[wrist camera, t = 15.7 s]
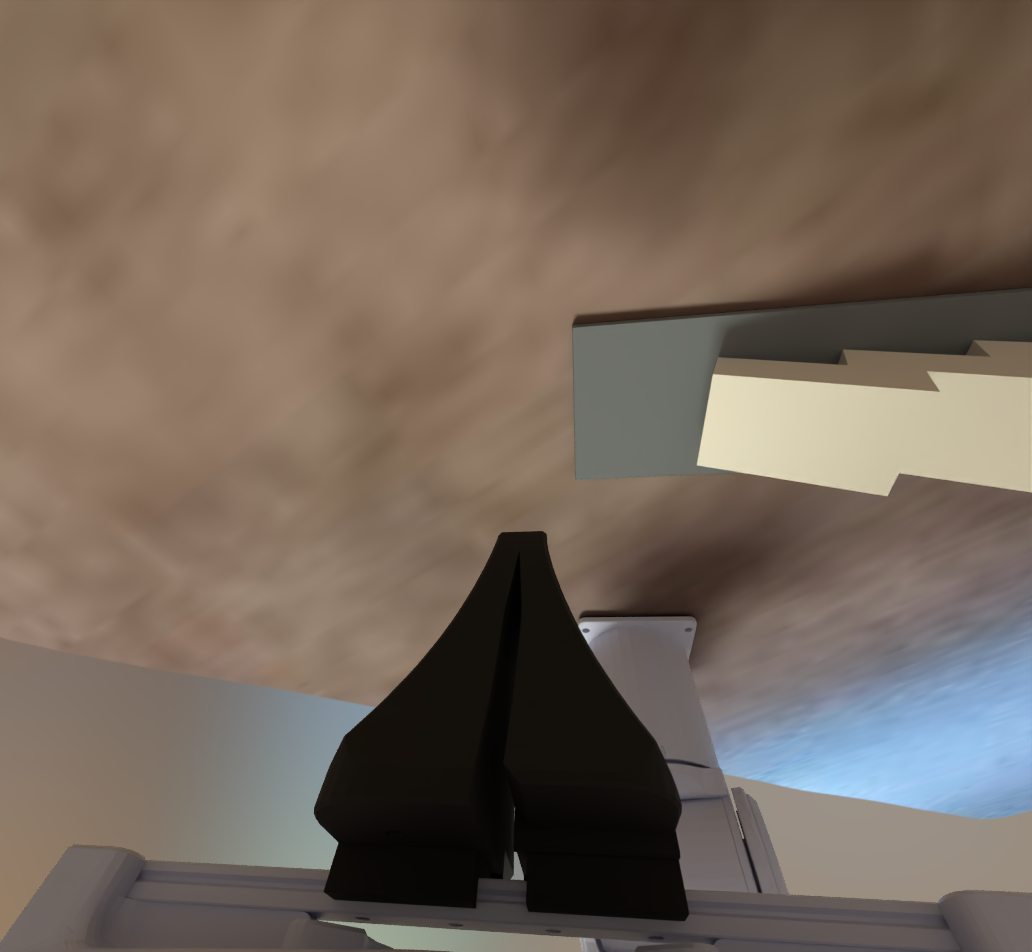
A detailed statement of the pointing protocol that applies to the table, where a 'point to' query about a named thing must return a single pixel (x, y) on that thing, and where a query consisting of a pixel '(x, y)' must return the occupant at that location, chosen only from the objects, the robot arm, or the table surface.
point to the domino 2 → (969, 417)
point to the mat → (745, 335)
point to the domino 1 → (815, 421)
